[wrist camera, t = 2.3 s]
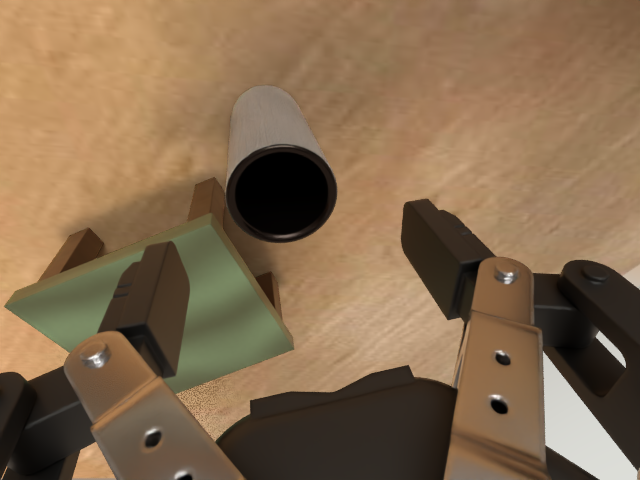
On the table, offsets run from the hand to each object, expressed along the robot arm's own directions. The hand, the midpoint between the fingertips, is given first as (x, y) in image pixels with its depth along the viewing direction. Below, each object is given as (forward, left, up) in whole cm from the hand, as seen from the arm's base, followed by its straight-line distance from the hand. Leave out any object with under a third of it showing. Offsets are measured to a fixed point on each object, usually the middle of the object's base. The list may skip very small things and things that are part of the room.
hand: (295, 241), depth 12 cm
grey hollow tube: (0, 0, -13) cm, 13 cm away
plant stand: (+10, -8, -13) cm, 18 cm away
